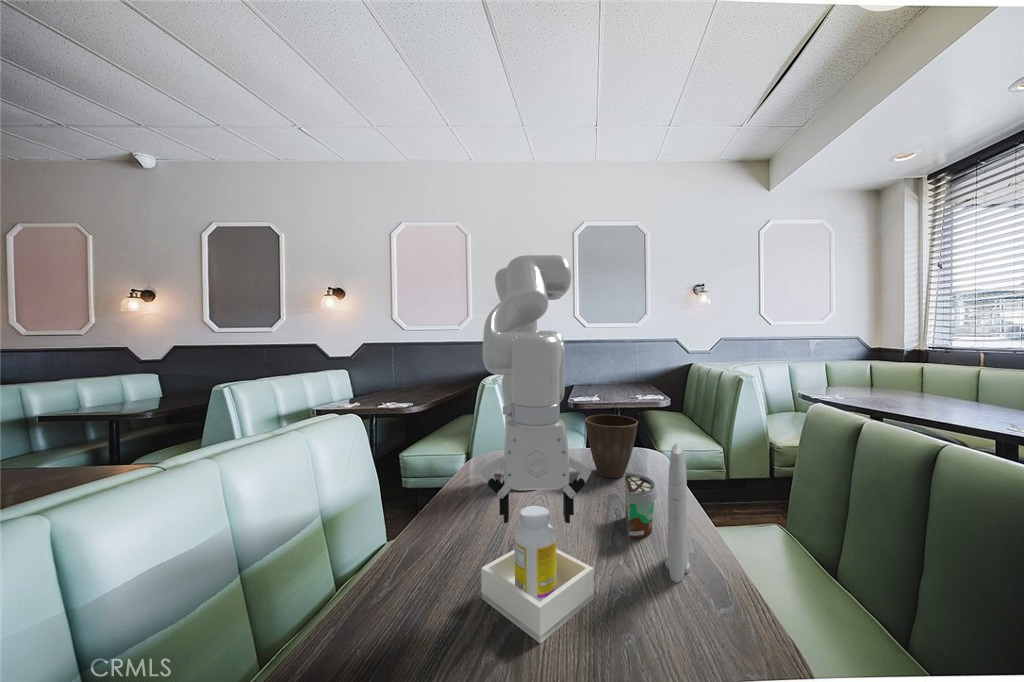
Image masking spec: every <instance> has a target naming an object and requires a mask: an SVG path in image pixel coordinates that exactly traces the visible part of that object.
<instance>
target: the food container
mask: <svg viewBox="0 0 1024 682" xmlns="http://www.w3.org/2000/svg"><path fill="white" fill-rule="evenodd" d="M624 482H625V483H624V486H625V487H624V491H625V492H624V493H625V497H624V498H625V499H624V500H625V507H624V508H625V522H626V527H627V532H628V533H627V534H628V539H629V540H641V539H644V538H648V537H649V536H650V535H651V534H652V532H653V521H654V507H655V505H654V504H655V500H656V499H658V496H659V495H658V489H657V486H656V484H655V482H654V481H653V479H651V478H650V477H648V476H645V475H643V474H638V473H635V472H628V471H627V472H626V471H625V473H624Z"/></svg>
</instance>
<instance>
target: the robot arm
mask: <svg viewBox="0 0 1024 682" xmlns="http://www.w3.org/2000/svg"><path fill="white" fill-rule="evenodd" d="M571 282H572V271H571V266H570V264H569V262H568V260H567V259H566V258H565V257H563V256H562V255H557V254H549V255H548V254H546V255H545V254H544V255H543V254H541V255H540V254H539V255H537V254H534V255H531V254H530V255H529V254H528V255H527V254H526V255H520V256H517V257H514V258H513V259H511V260H510V261H509V263H508V264H507V266H506V267H503V268H500V269H499V270H497V272H496V273H495V277H494V284H495V289H496V290H495V291H496V294H497V296H498V298H499V301H500V302H499V303H498V304H497V305H495V307H494V308H493V309H492V310H491V311H490V313H489V314H488V316H487V317H486V320H485V322H484V327H483V334H482V335H483V338H482V339H483V340H482V360H483V365H484V367H485V369H486V370H487V371H488V372H489V373H490V374H492V375H496V376H502V378H501V384H500V385H501V391H502V392H501V393H502V399H503V404H504V405H503V406H502V415H503V416H504V425H505V426H504V428H505V429H504V433H505V434H504V447H503V448H504V449H503V451H504V452H503V455H502V456H501V457H499V458H497V459H495V460H493V461H491V462H489V463H487V464H484V465H483V466H482V468H481V474H482V476H483V478H484V480H485V481H486V483H487V486H488V487H489V489H491V490H492V491H493V492H494V493H495V494H496V496H497V497H498V498H499V499H498V500H499V516H503V524H508V523H509V519H510V498H509V497H510V495H509V493H510V491H511V490H512V491H520V492H522V491H523V492H527V491H534V490H536V491H537V490H539V491H540V490H541V491H542V490H544V491H545V490H547V491H548V490H562V491H563V492H562V495H563V497H562V501H563V502H562V503H563V506H562V511H563V515H562V516H563V520H564V522H565V523H566V524H570V523H571V516H574V515H575V510H574V509H575V508H574V506H575V505H574V503H575V498H576V497H577V494H578V493H579V492H580V491H581V490H582V489H583V488H584V487H585V486H586V483H587V481H588V480H589V478H590V476H591V474H592V469H591V467H590V465H588V464H586V463H583V462H582V461H579V460H578V459H576V458H574V457H572V456H570V455H569V444H568V443H569V441H568V434H567V433H568V432H567V428H566V424H565V422H564V421H563V419H561V417H560V416H561V414H560V412H561V411H560V405H561V404H560V403H561V402H562V401H563V399H564V396H565V389H566V388H565V387H566V386H565V385H566V381H565V379H566V375H565V374H566V372H565V371H566V369H565V368H566V351H565V348H566V347H565V342H564V338H563V336H562V334H561V333H560V332H559V331H556V330H539V329H538V320H539V319H540V318H542V317H543V316H544V315H545V313H546V312H547V309H548V308H549V301H556V300H560V299H561V298H562V297H563V296H565V294H566V293H568V291H569V289H570V287H571V286H570V285H571ZM570 468H571V469H573V470H575V471H577V472H579V473H578V476H577V477H576V478H574V479H573V481H572V482H571V481H570ZM498 470H503V474H502V475H501V476H500V480H499V479H497V477H495V475H494V473H495V472H496V471H498Z"/></svg>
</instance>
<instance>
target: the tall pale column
mask: <svg viewBox="0 0 1024 682" xmlns="http://www.w3.org/2000/svg"><path fill="white" fill-rule="evenodd" d="M671 447H672V448H671V452H670V458H669V460H670V461H669V465H668V466H669V468H668V483H667V485H668V487H667V490H668V491H667V501H668V502H667V504H668V505H667V507H668V509H667V510H668V511H667V512H668V515H667V516H668V518H667V519H668V521H667V556H666V558H665V559H664V560H665V561H664V563H665V565H664V566H665V567H666V568H667V569H668V572H669V579H670V580H671V582H673V583H674V584H675V583H676V584H679V583H681V582H682V581H683V579H684V577H685V574H688V573H689V572H690V571H691V563H690V562H689V561H688V528H687V525H688V524H687V523H688V522H687V521H688V520H687V519H688V517H687V515H688V514H687V513H688V511H687V509H688V508H687V506H688V505H687V503H688V502H687V501H688V498H687V497H688V495H687V494H688V491H687V490H688V485H687V484H688V482H687V464H686V458H685V449H684V446H683V443H681V442H676V443H675V444H674V445H672V446H671Z"/></svg>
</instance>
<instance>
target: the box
mask: <svg viewBox="0 0 1024 682" xmlns="http://www.w3.org/2000/svg"><path fill="white" fill-rule="evenodd" d="M480 569H481V571H480V572H481V574H480V575H481V599H482V600H484V602H485V603H487V604H488V605H489V606H491V607H492V608H493V609H495V610H496V611H498V613H500V614H501V615H502V616H504V617H505V618H506V619H508V620H509V621H510V622H512V623H513V624H514V625H516V626H517V627H518V628H519V629H520V630H521V631H523V632H525V633H526V634H527V635H528V636H530V637H531V638H533V639H534V640H535V641H536V642H537V643H539V644H542V643H543V642H544V641H545V640H547V639H548V638H549V637H551V635H553V634H554V633H555V632H557V631H558V630H559V629H560V628H561V627H563V625H564V624H566V623H567V622H568V621H569V620H570V619H572V618H573V617H574V616H575V615H576V614H578V613H579V612H580V611H582V610H583V608H585V607H586V606H587V605H588V604H589V603H591V602H592V601H593V600H594V599H595V598H594V597H595V596H594V595H595V593H594V592H595V591H594V589H595V588H594V586H595V582H594V577H595V576H594V572H595V570H594V567H593V566H591V565H588V564H587V563H584V562H583V561H581V560H578V559H577V558H575V557H573V556H571V555H569V554H568V553H565V552H564V551H562V550H560V549H558V548H556V572H557V589H556V590H555V591H554V592H553V593H551V594H550V595H549V596H547V597H546V598H544V599H543V600H542V601H540V602H539V601H537V600H536V599H534V598H533V597H531V596H530V595H528V594H527V593H525V592H524V591H522V590H521V589H519V588H518V587H516V586H515V550H514V549H513V550H511V551H509V552H507V553H505V554H503V555H502V556H500V557H498V558H497V559H495V560H493V561H491V562H489V563H488V564H485V565H484V566H482V567H481V568H480Z"/></svg>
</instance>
